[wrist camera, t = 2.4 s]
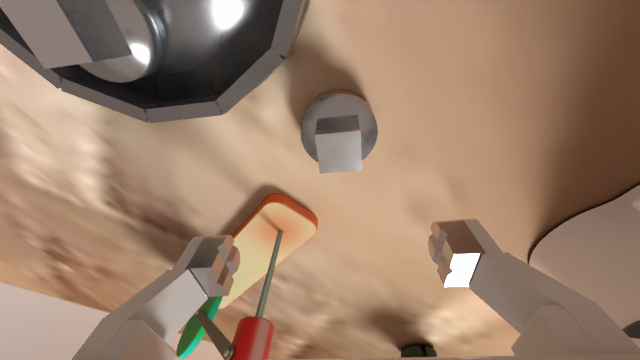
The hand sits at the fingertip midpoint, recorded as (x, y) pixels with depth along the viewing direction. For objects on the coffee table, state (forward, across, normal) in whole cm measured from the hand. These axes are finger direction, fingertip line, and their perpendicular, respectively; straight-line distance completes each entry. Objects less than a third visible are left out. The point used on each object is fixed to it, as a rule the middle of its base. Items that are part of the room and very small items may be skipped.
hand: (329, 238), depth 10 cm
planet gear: (+13, -1, 0) cm, 13 cm away
